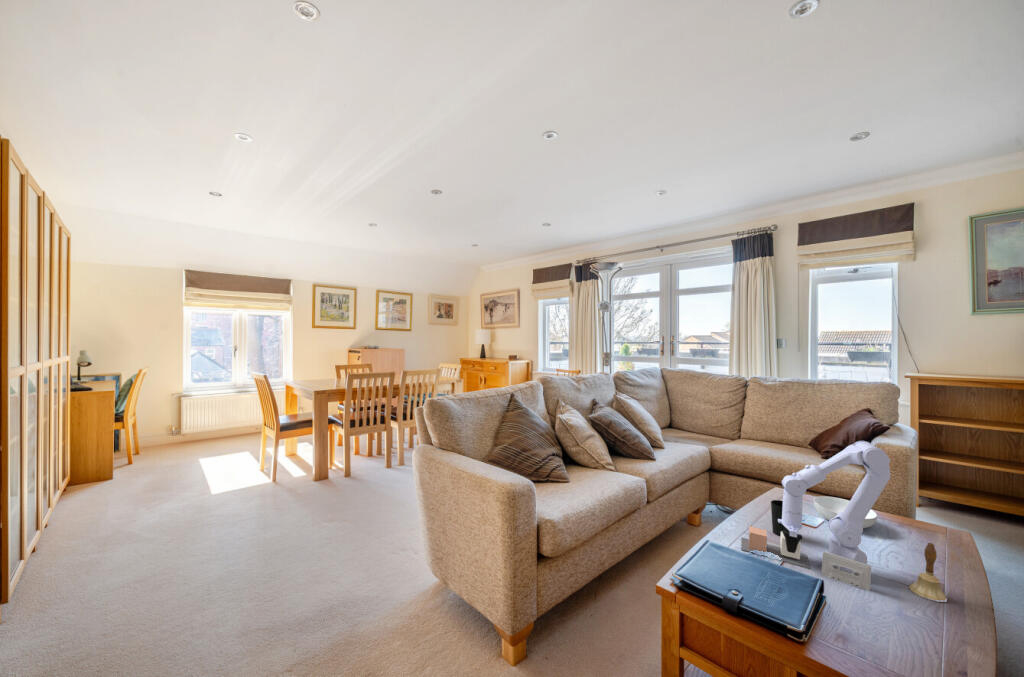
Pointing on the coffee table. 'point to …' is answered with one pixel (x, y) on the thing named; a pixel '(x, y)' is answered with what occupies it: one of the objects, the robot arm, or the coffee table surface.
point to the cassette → (845, 576)
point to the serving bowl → (839, 509)
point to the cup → (776, 516)
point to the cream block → (784, 548)
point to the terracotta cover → (757, 539)
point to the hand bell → (928, 578)
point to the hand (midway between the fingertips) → (790, 548)
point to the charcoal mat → (776, 550)
